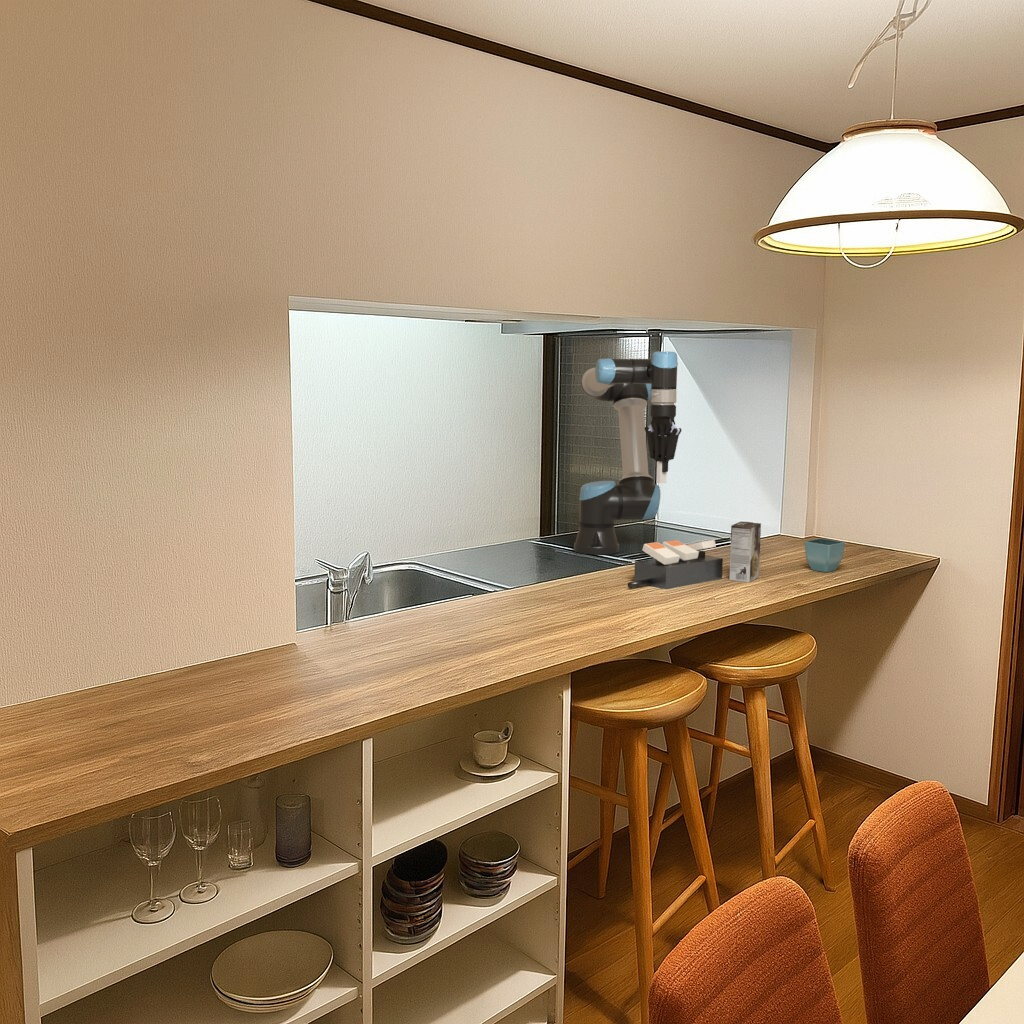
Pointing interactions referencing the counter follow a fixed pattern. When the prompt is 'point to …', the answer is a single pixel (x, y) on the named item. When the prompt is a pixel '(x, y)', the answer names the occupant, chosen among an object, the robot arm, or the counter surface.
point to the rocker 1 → (661, 553)
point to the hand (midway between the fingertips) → (661, 482)
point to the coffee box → (745, 551)
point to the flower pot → (824, 554)
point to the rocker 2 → (681, 550)
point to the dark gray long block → (677, 572)
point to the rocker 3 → (702, 545)
